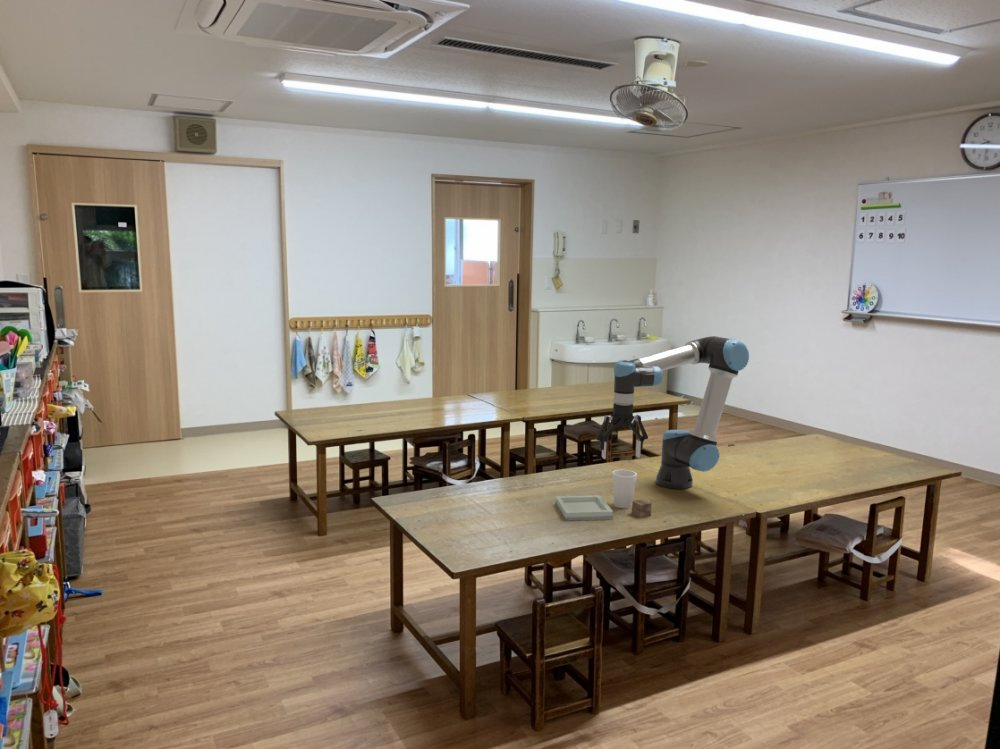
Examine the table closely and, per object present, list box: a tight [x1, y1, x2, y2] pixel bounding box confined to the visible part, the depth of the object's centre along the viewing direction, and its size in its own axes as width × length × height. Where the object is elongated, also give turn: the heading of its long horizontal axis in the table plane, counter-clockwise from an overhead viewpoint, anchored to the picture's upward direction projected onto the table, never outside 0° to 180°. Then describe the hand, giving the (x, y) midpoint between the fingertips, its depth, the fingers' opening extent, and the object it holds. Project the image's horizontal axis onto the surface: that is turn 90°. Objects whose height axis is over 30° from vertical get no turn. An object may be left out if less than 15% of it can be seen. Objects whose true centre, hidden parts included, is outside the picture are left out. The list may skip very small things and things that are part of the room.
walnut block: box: [631, 498, 653, 519], centre depth 277 cm, size 5×5×5 cm
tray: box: [554, 494, 614, 522], centre depth 279 cm, size 18×18×3 cm
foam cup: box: [611, 468, 638, 509], centre depth 285 cm, size 10×9×13 cm
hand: (620, 457), depth 284 cm, fingers open, 13 cm apart
